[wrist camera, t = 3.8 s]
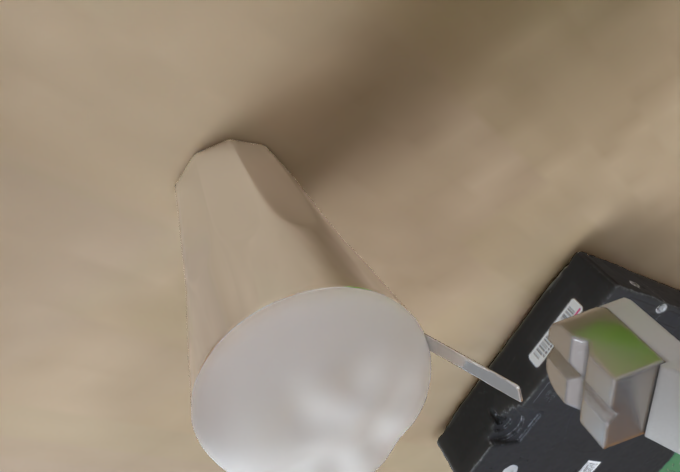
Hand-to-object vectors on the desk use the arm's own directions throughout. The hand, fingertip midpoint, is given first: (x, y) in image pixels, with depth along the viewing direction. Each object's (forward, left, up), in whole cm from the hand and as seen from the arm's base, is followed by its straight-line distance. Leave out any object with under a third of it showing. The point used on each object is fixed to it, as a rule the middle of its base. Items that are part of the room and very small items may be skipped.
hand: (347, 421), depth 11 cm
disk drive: (-4, +20, -9) cm, 22 cm away
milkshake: (0, 0, -9) cm, 9 cm away
